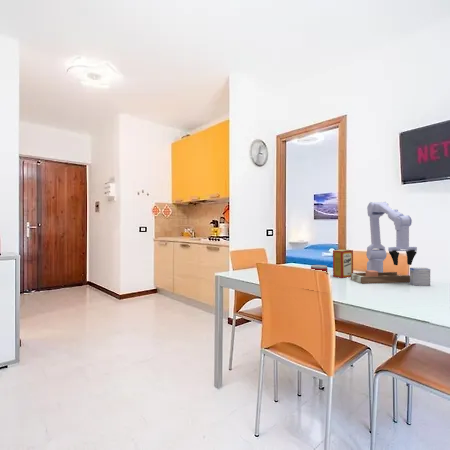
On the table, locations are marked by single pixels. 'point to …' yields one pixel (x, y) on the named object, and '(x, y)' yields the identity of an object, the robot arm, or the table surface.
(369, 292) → the table surface
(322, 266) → the canned food
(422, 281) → the medicine box
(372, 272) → the block
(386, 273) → the wooden frame
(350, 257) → the baking soda box
